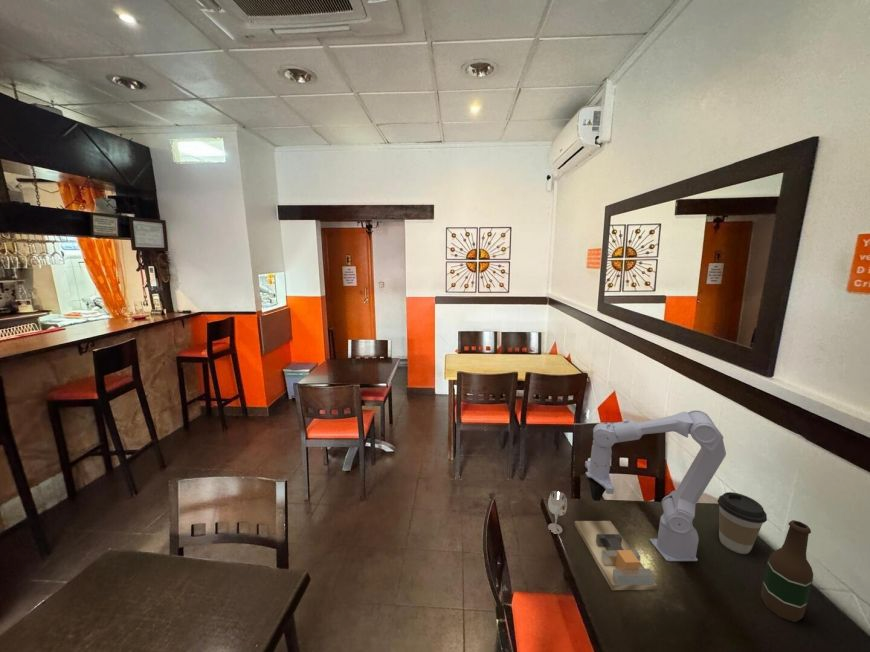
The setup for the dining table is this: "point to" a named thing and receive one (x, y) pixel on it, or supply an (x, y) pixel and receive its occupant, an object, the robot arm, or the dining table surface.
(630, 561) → the orange block
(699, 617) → the dining table surface
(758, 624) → the dining table surface
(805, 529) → the beer bottle
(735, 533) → the coffee cup
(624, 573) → the fixed jaw
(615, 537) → the moving jaw
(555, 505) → the wineglass
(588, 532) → the vise bed
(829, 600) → the dining table surface
